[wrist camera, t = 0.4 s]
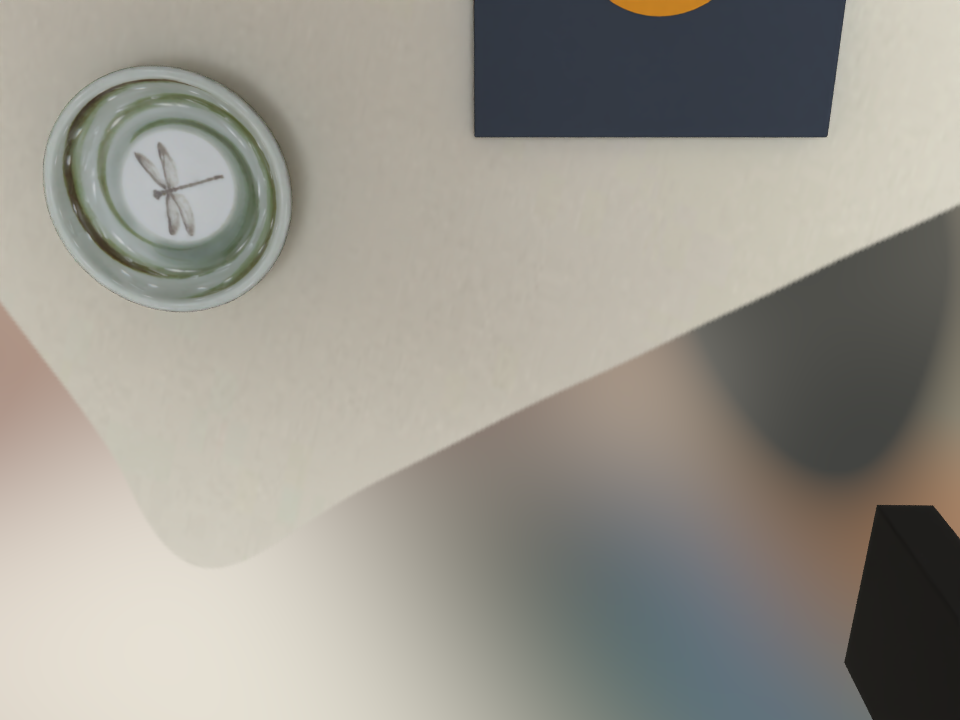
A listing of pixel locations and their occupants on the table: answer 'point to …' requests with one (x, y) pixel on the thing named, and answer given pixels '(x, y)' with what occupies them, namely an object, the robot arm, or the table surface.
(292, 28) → the table surface
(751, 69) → the mat
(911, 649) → the robot arm
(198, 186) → the saucer
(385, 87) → the table surface
